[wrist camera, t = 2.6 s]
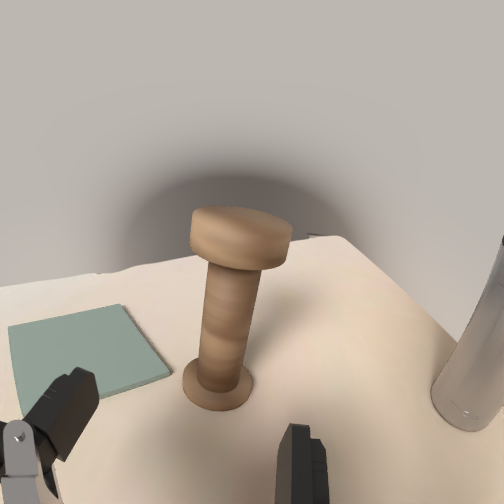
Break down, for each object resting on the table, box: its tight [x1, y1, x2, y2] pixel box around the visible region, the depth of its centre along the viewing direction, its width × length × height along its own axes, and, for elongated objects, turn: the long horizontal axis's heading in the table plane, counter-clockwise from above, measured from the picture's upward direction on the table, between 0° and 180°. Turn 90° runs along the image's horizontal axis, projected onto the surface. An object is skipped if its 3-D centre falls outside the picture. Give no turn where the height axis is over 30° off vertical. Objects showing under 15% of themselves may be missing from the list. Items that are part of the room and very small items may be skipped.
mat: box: [8, 304, 170, 417], centre depth 24 cm, size 14×12×1 cm
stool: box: [183, 206, 292, 411], centre depth 22 cm, size 6×6×15 cm
